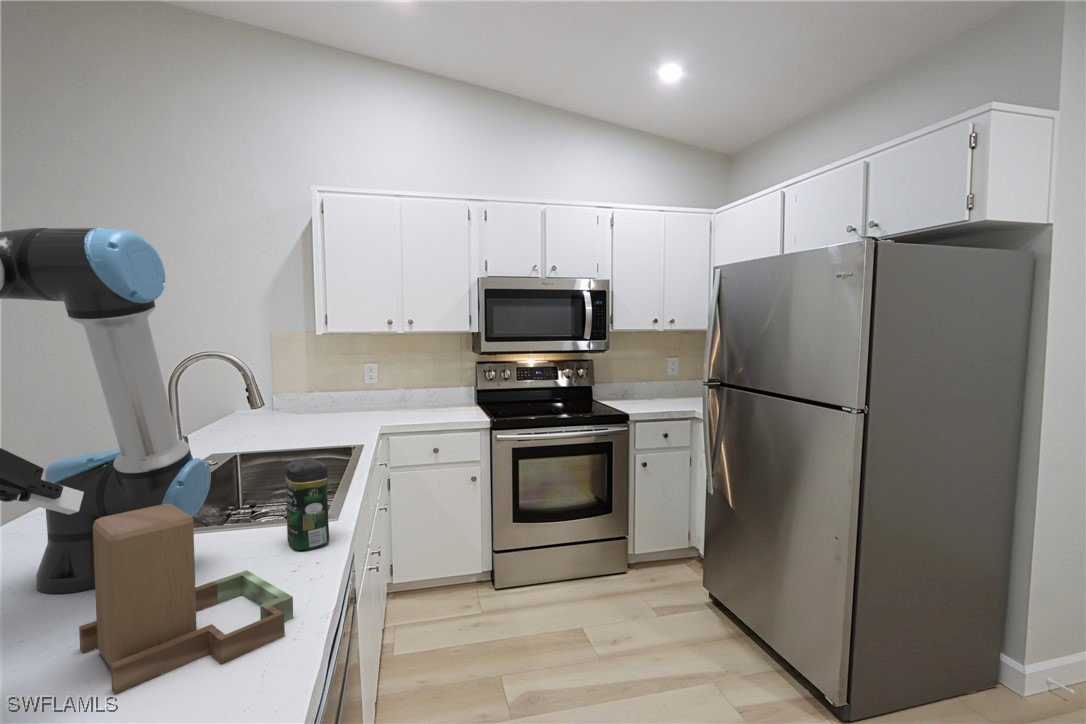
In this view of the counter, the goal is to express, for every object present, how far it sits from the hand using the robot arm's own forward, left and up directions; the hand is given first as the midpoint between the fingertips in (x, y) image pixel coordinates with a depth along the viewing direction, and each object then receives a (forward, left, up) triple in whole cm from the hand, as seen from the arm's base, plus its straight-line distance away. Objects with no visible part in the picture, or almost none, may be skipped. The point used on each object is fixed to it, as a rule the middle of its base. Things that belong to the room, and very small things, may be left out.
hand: (76, 503), depth 72 cm
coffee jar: (-19, +43, -24) cm, 53 cm away
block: (0, +7, -24) cm, 25 cm away
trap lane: (0, +12, -24) cm, 27 cm away
